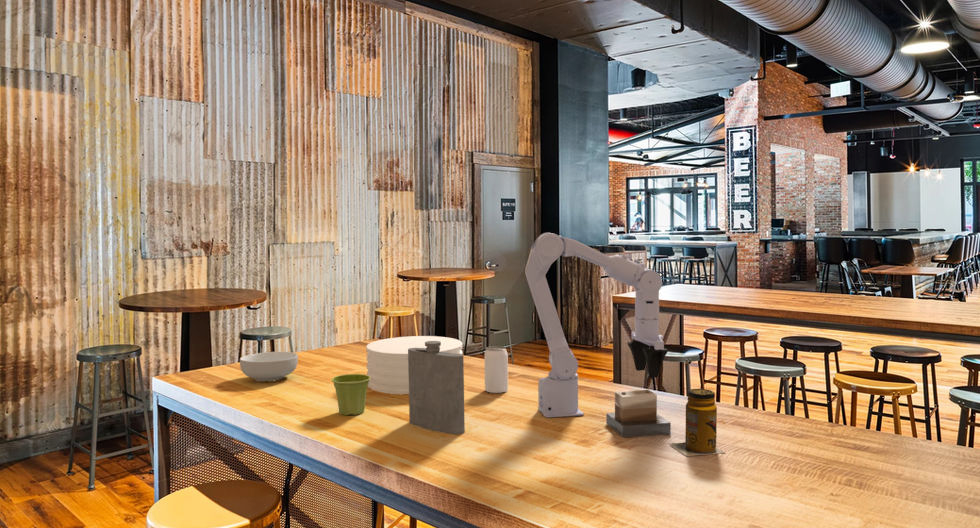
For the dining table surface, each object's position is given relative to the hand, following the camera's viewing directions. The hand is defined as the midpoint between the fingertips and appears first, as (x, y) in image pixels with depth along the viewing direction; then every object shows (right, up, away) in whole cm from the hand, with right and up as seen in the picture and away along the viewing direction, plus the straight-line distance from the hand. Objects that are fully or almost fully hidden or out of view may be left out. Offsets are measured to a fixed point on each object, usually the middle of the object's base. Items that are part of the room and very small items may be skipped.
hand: (646, 373), depth 160 cm
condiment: (+4, -11, -26) cm, 29 cm away
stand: (-5, -10, -13) cm, 17 cm away
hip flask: (-51, -11, -10) cm, 53 cm away
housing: (-6, -8, -13) cm, 16 cm away
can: (-36, -9, +22) cm, 44 cm away
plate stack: (-60, -9, +34) cm, 70 cm away
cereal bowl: (-105, -9, +40) cm, 113 cm away
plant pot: (-73, -10, +3) cm, 73 cm away
